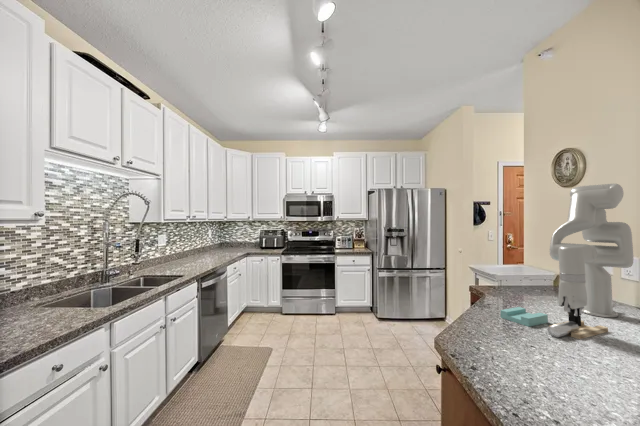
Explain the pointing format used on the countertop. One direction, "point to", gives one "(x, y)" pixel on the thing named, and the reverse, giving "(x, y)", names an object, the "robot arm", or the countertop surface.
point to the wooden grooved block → (586, 331)
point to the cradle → (524, 316)
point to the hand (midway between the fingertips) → (575, 325)
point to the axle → (563, 329)
